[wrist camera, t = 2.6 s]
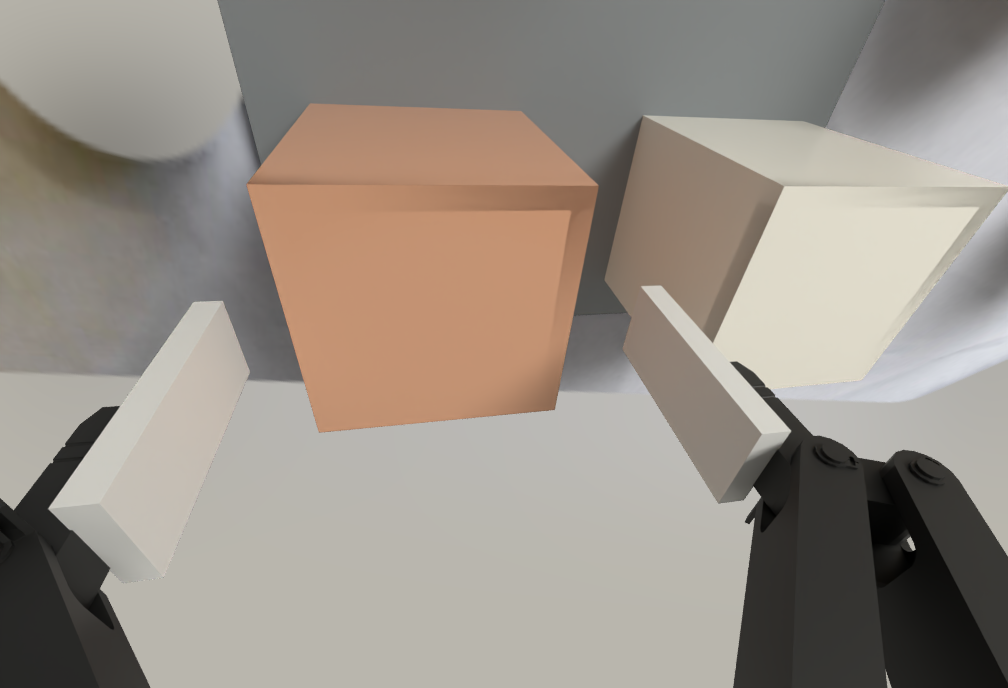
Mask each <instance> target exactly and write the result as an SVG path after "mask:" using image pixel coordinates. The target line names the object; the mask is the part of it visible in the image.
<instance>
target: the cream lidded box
mask: <svg viewBox="0 0 1008 688" xmlns="http://www.w3.org/2000/svg"><path fill="white" fill-rule="evenodd" d="M1007 191H1008V186H1006V185H1003V184H1000V183H997V182H993V181H990V180H987V179H984V178H981V177H978V176H974V175H971V174H968V173H965V172H962V171H959V170H956V169H952V168H949V167H946V166H943V165H940V164H937V163H934V162H930V161H927V160H924V159H921V158H918V157H915V156H911V155H908V154H905V153H902V152H899V151H896V150H893V149H889V148H886V147H883V146H880V145H877V144H874V143H871V142H867V141H864V140H861V139H858V138H855V137H852V136H849V135H845V134H842V133H839V132H836V131H833V130H830V129H826V128H823V127H820V126H817V125H814V124H811V123H808V122H804V121H785V120H757V119H729V118H701V117H673V116H646V115H643V118H642V122H641V126H640V131H639V135H638V139H637V143H636V148H635V152H634V156H633V160H632V165H631V169H630V173H629V177H628V182H627V186H626V190H625V194H624V199H623V203H622V207H621V211H620V216H619V220H618V224H617V228H616V233H615V237H614V241H613V245H612V250H611V254H610V258H609V262H608V266H607V271H606V275H605V279H604V280H605V282H606V283H607V284H608V286H609V287H610V289H611V290H612V291H613V293H614V294H615V296H616V297H617V298H618V300H619V301H620V303H621V304H622V305H623V307H624V308H625V310H626V311H627V312H628V314H629V315H630V316H631V318H632V314H633V311H634V307H635V304H636V301H637V297H638V294H639V290H640V287H641V286H662V287H663V288H664V289H665V290H666V292H667V293H668V294H669V295H670V296H671V297H672V298H673V299H674V300H675V302H676V303H677V304H678V305H679V306H680V307H681V308H682V309H683V311H684V312H685V313H686V314H687V315H688V316H689V317H690V318H691V319H692V321H693V322H694V323H695V324H696V325H697V326H698V327H699V328H700V330H701V331H702V332H703V333H704V334H705V335H706V336H707V337H708V338H709V340H710V341H711V342H712V343H713V344H714V345H715V346H716V347H717V349H718V350H719V351H720V352H721V353H722V354H723V355H724V356H725V357H726V359H727V360H728V361H729V362H734V361H737V362H739V363H740V364H742V365H744V366H745V367H747V368H748V369H750V370H751V371H753V372H754V373H755V374H756V375H757V376H758V377H759V378H760V379H761V381H762V382H763V383H764V384H765V387H768V388H769V389H777V388H787V387H798V386H808V385H818V384H829V383H839V382H849V381H860V380H862V379H863V378H864V377H865V375H866V374H867V373H868V371H869V370H870V369H871V368H872V366H873V365H874V364H875V362H876V361H877V360H878V358H879V357H880V356H881V355H882V353H883V352H884V351H885V349H886V348H887V347H888V346H889V344H890V343H891V342H892V340H893V339H894V338H895V336H896V335H897V334H898V333H899V331H900V330H901V329H902V327H903V326H904V325H905V323H906V322H907V321H908V320H909V318H910V317H911V316H912V314H913V313H914V312H915V311H916V309H917V308H918V307H919V305H920V304H921V303H922V301H923V300H924V299H925V298H926V296H927V295H928V294H929V292H930V291H931V290H932V288H933V287H934V286H935V285H936V283H937V282H938V281H939V279H940V278H941V277H942V276H943V274H944V273H945V272H946V270H947V269H948V268H949V266H950V265H951V264H952V263H953V261H954V260H955V259H956V257H957V256H958V255H959V254H960V252H961V251H962V250H963V248H964V247H965V246H966V244H967V243H968V242H969V241H970V239H971V238H972V237H973V235H974V234H975V233H976V231H977V230H978V229H979V228H980V226H981V225H982V224H983V222H984V221H985V220H986V219H987V217H988V216H989V215H990V213H991V212H992V211H993V209H994V208H995V207H996V206H997V204H998V203H999V202H1000V200H1001V199H1002V198H1003V196H1004V195H1005V194H1006V193H1007Z"/></svg>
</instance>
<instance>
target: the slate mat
mask: <svg viewBox="0 0 1008 688" xmlns="http://www.w3.org/2000/svg"><path fill="white" fill-rule="evenodd" d="M884 2H885V0H218V4H219V8H220V12H221V15H222V19H223V23H224V27H225V30H226V34H227V38H228V42H229V45H230V49H231V53H232V57H233V60H234V64H235V68H236V72H237V76H238V79H239V83H240V87H241V91H242V94H243V98H244V102H245V106H246V110H247V113H248V117H249V121H250V125H251V128H252V132H253V136H254V140H255V144H256V147H257V151H258V155H259V159H260V162H261V165H262V164H263V163H264V161H265V160H266V159H267V158H268V156H269V155H270V154H271V152H272V151H273V150H274V149H275V147H276V146H277V145H278V144H279V142H280V141H281V140H282V138H283V137H284V136H285V135H286V133H287V132H288V131H289V130H290V128H291V127H292V126H293V124H294V123H295V122H296V121H297V119H298V118H299V117H300V116H301V114H302V113H303V112H304V110H305V109H306V108H307V107H308V105H309V104H310V103H312V104H340V105H368V106H395V107H423V108H451V109H479V110H507V111H522V112H523V113H524V114H525V115H526V116H527V117H528V118H529V119H530V120H531V121H532V122H533V123H534V124H535V125H536V126H537V127H538V128H539V129H540V130H541V131H542V132H544V133H545V134H546V135H547V136H548V137H549V138H550V139H551V140H552V141H553V142H554V143H555V144H556V145H557V146H558V147H559V148H560V149H561V150H562V151H563V152H564V153H565V154H566V155H567V156H569V157H570V158H571V159H572V160H573V161H574V162H575V163H576V164H577V165H578V166H579V167H580V168H581V169H582V170H583V171H584V172H585V173H586V174H587V175H588V176H589V177H590V178H591V179H592V180H594V181H595V182H596V183H597V184H598V185H599V187H598V193H597V198H596V203H595V208H594V213H593V218H592V223H591V228H590V233H589V238H588V243H587V248H586V253H585V258H584V264H583V269H582V274H581V279H580V284H579V289H578V294H577V299H576V304H575V309H574V314H573V315H592V314H610V313H628V312H627V311H626V310H625V308H624V307H623V305H622V304H621V303H620V301H619V300H618V298H617V297H616V296H615V294H614V293H613V291H612V290H611V289H610V287H609V286H608V284H607V283H606V282H605V280H604V279H605V275H606V271H607V266H608V262H609V258H610V254H611V250H612V245H613V241H614V237H615V233H616V228H617V224H618V220H619V216H620V211H621V207H622V203H623V199H624V194H625V190H626V186H627V182H628V177H629V173H630V169H631V165H632V160H633V156H634V152H635V148H636V143H637V139H638V135H639V131H640V126H641V122H642V118H643V115H646V116H673V117H701V118H729V119H757V120H785V121H804V122H808V123H811V124H814V125H817V126H820V127H823V128H825V127H826V125H827V123H828V121H829V119H830V116H831V114H832V112H833V110H834V108H835V106H836V104H837V102H838V100H839V97H840V95H841V93H842V91H843V89H844V87H845V85H846V83H847V81H848V78H849V76H850V74H851V72H852V70H853V68H854V66H855V64H856V62H857V59H858V57H859V55H860V53H861V51H862V49H863V47H864V45H865V43H866V40H867V38H868V36H869V34H870V32H871V30H872V28H873V26H874V24H875V21H876V19H877V17H878V15H879V13H880V11H881V9H882V7H883V5H884Z"/></svg>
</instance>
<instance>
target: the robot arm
mask: <svg viewBox="0 0 1008 688" xmlns="http://www.w3.org/2000/svg"><path fill="white" fill-rule="evenodd" d="M623 351H624V352H625V354H626V356H627V357H628V359H629V361H630V362H631V364H632V365H633V367H634V369H635V370H636V372H637V373H638V375H639V377H640V378H641V380H642V381H643V383H644V385H645V386H646V388H647V390H648V391H649V393H650V394H651V396H652V398H653V399H654V401H655V402H656V404H657V406H658V407H659V409H660V410H661V412H662V413H663V415H664V417H665V419H666V420H667V422H668V423H669V425H670V427H671V428H672V430H673V431H674V433H675V435H676V436H677V438H678V439H679V441H680V443H681V444H682V446H683V448H684V449H685V451H686V452H687V454H688V456H689V457H690V459H691V460H692V462H693V464H694V465H695V467H696V468H697V470H698V472H699V473H700V475H701V477H702V478H703V480H704V481H705V483H706V485H707V486H708V488H709V489H710V491H711V493H712V494H713V496H714V497H715V499H716V501H717V502H718V503H726V502H734V501H741V500H744V499H745V498H746V496H747V495H748V493H749V492H750V491H751V489H752V488H753V486H754V487H755V489H756V490H757V492H758V493H759V494H760V496H761V498H760V500H759V501H758V503H757V504H756V505H755V507H754V508H753V509H752V511H751V512H750V514H749V515H748V516H747V518H746V521H745V522H746V523H748V524H750V522H751V521H752V520H753V518H755V521H754V530H753V537H752V545H751V553H750V561H749V568H748V576H747V584H746V592H745V600H744V608H743V615H742V623H741V631H740V639H739V647H738V655H737V662H736V670H735V678H734V686H733V688H887V681H886V672H887V675H888V678H889V681H890V684H891V687H892V688H1008V556H1007V555H1006V553H1005V551H1004V550H1003V548H1002V547H1001V545H1000V544H999V542H998V541H997V539H996V537H995V536H994V534H993V533H992V531H991V530H990V528H989V526H988V525H987V523H986V522H985V520H984V519H983V517H982V516H981V514H980V512H979V511H978V509H977V508H976V506H975V505H974V503H973V501H972V500H971V498H970V497H969V495H968V494H967V492H966V491H965V489H964V488H963V486H962V484H961V483H960V481H959V480H958V479H957V478H956V476H955V475H954V474H953V473H952V472H951V471H950V470H949V469H948V468H946V467H945V466H944V465H942V464H941V463H940V462H938V461H936V460H935V459H932V458H931V457H928V456H927V455H924V454H921V453H918V452H915V451H908V450H902V451H898V452H896V453H895V454H894V455H893V456H892V457H891V458H890V459H889V460H888V461H887V462H886V463H885V462H879V461H874V460H867V459H862V458H857V456H856V455H855V454H854V453H853V452H852V451H850V450H849V449H848V448H847V447H845V446H844V445H843V444H840V443H838V442H836V441H834V440H832V439H830V438H826V437H822V436H813V435H812V434H811V433H810V432H809V431H808V430H807V429H806V428H805V427H804V426H803V425H802V423H801V422H800V421H799V420H798V419H797V418H796V417H795V416H794V415H793V414H792V413H791V412H790V410H789V409H788V408H787V407H786V406H785V405H784V404H783V403H782V402H781V401H780V400H779V399H778V398H775V394H774V393H773V392H772V391H771V390H770V389H769V388H768V387H765V384H764V383H763V382H762V381H761V379H760V378H759V377H758V376H757V375H756V374H755V373H754V372H753V371H751V370H750V369H748V368H747V367H745V366H744V365H742V364H740V363H739V362H737V361H734V362H729V361H728V360H727V359H726V357H725V356H724V355H723V354H722V353H721V352H720V351H719V350H718V349H717V347H716V346H715V345H714V344H713V343H712V342H711V341H710V340H709V338H708V337H707V336H706V335H705V334H704V333H703V332H702V331H701V330H700V328H699V327H698V326H697V325H696V324H695V323H694V322H693V321H692V319H691V318H690V317H689V316H688V315H687V314H686V313H685V312H684V311H683V309H682V308H681V307H680V306H679V305H678V304H677V303H676V302H675V300H674V299H673V298H672V297H671V296H670V295H669V294H668V293H667V292H666V290H665V289H664V288H663V287H662V286H641V287H640V290H639V294H638V297H637V301H636V304H635V307H634V311H633V314H632V318H631V321H630V325H629V328H628V332H627V335H626V338H625V342H624V345H623ZM249 373H250V371H249V368H248V366H247V363H246V360H245V358H244V355H243V352H242V350H241V347H240V345H239V342H238V339H237V337H236V334H235V331H234V329H233V326H232V324H231V321H230V318H229V316H228V313H227V311H226V308H225V305H224V303H223V301H205V302H193V304H192V305H191V306H190V308H189V309H188V311H187V312H186V314H185V315H184V316H183V318H182V319H181V321H180V322H179V324H178V325H177V326H176V328H175V329H174V331H173V332H172V333H171V335H170V336H169V338H168V339H167V341H166V342H165V343H164V345H163V346H162V348H161V349H160V351H159V352H158V353H157V355H156V356H155V358H154V359H153V360H152V362H151V363H150V365H149V366H148V368H147V369H146V370H145V372H144V373H143V375H142V376H141V378H140V379H139V380H138V382H137V383H136V385H135V386H134V388H133V389H132V390H131V392H130V393H129V395H128V396H127V397H126V399H125V400H124V402H123V403H122V405H121V406H115V407H102V408H101V409H100V410H99V411H97V412H96V413H94V414H93V415H92V416H90V417H89V418H88V419H86V420H85V421H84V422H83V423H81V424H80V425H79V426H78V428H77V429H76V430H75V431H74V433H73V434H72V435H71V437H70V438H69V439H68V441H67V442H66V443H65V445H66V446H65V447H62V448H61V450H60V451H59V452H58V454H57V455H56V456H55V458H54V459H53V463H50V464H49V465H48V467H47V468H46V469H45V471H44V472H43V473H42V475H41V476H40V477H39V478H38V480H37V481H36V482H35V483H34V485H33V486H32V488H31V489H30V490H29V491H28V493H27V494H26V495H25V496H24V498H23V499H22V500H21V502H20V503H19V504H18V506H17V507H16V508H15V509H14V510H13V509H11V508H10V507H9V506H8V505H7V504H6V503H5V502H3V500H1V499H0V688H150V686H149V684H148V682H147V679H146V677H145V675H144V673H143V671H142V669H141V667H140V665H139V663H138V661H137V658H136V657H135V654H134V652H133V650H132V648H131V646H130V644H129V642H128V640H127V637H126V636H125V633H124V631H123V629H122V627H121V625H120V623H119V621H118V619H117V617H116V615H115V612H114V610H113V608H112V606H111V604H110V602H109V600H108V598H107V596H106V595H105V594H104V593H103V592H102V591H101V590H100V587H101V585H102V583H103V581H104V579H105V577H106V576H107V573H108V572H109V570H110V571H111V572H112V573H113V574H114V575H115V576H116V577H117V578H118V579H119V580H120V581H121V582H122V583H128V582H135V581H143V580H150V579H158V578H164V576H165V574H166V571H167V569H168V566H169V564H170V562H171V559H172V557H173V555H174V552H175V550H176V547H177V545H178V543H179V540H180V538H181V535H182V533H183V530H184V528H185V526H186V524H187V521H188V519H189V516H190V514H191V511H192V509H193V507H194V504H195V502H196V500H197V497H198V495H199V492H200V490H201V488H202V486H203V483H204V481H205V478H206V476H207V473H208V471H209V469H210V466H211V464H212V462H213V459H214V457H215V455H216V452H217V450H218V447H219V445H220V442H221V440H222V438H223V435H224V433H225V431H226V428H227V426H228V424H229V421H230V419H231V416H232V414H233V412H234V409H235V406H236V404H237V402H238V400H239V397H240V395H241V393H242V390H243V388H244V385H245V383H246V381H247V378H248V376H249ZM910 536H911V538H912V540H913V542H914V545H915V549H916V550H914V551H912V549H911V548H910V546H909V544H908V542H907V539H908V538H909V537H910ZM885 669H886V671H885Z"/></svg>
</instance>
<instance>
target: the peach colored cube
mask: <svg viewBox="0 0 1008 688" xmlns="http://www.w3.org/2000/svg"><path fill="white" fill-rule="evenodd" d="M246 185H247V188H248V192H249V195H250V199H251V202H252V205H253V209H254V212H255V216H256V219H257V223H258V226H259V229H260V233H261V236H262V240H263V243H264V246H265V250H266V253H267V257H268V260H269V263H270V267H271V270H272V274H273V277H274V281H275V284H276V287H277V291H278V294H279V298H280V301H281V304H282V308H283V311H284V315H285V318H286V322H287V325H288V328H289V332H290V335H291V339H292V342H293V345H294V349H295V352H296V356H297V359H298V363H299V366H300V369H301V373H302V376H303V380H304V383H305V386H306V390H307V393H308V396H309V400H310V403H311V407H312V410H313V414H314V417H315V421H316V424H317V427H318V431H319V432H331V431H341V430H351V429H361V428H371V427H382V426H393V425H403V424H413V423H424V422H433V421H445V420H455V419H466V418H475V417H486V416H496V415H506V414H517V413H527V412H537V411H549V410H555V405H556V400H557V396H558V390H559V385H560V380H561V375H562V370H563V365H564V360H565V355H566V350H567V345H568V340H569V335H570V330H571V324H572V319H573V314H574V309H575V304H576V299H577V294H578V289H579V284H580V279H581V274H582V269H583V264H584V258H585V253H586V248H587V243H588V238H589V233H590V228H591V223H592V218H593V213H594V208H595V203H596V198H597V193H598V187H599V185H598V184H597V183H596V182H595V181H594V180H592V179H591V178H590V177H589V176H588V175H587V174H586V173H585V172H584V171H583V170H582V169H581V168H580V167H579V166H578V165H577V164H576V163H575V162H574V161H573V160H572V159H571V158H570V157H569V156H567V155H566V154H565V153H564V152H563V151H562V150H561V149H560V148H559V147H558V146H557V145H556V144H555V143H554V142H553V141H552V140H551V139H550V138H549V137H548V136H547V135H546V134H545V133H544V132H542V131H541V130H540V129H539V128H538V127H537V126H536V125H535V124H534V123H533V122H532V121H531V120H530V119H529V118H528V117H527V116H526V115H525V114H524V113H523V112H522V111H507V110H479V109H451V108H423V107H395V106H368V105H340V104H312V103H310V104H309V105H308V107H307V108H306V109H305V110H304V112H303V113H302V114H301V116H300V117H299V118H298V119H297V121H296V122H295V123H294V124H293V126H292V127H291V128H290V130H289V131H288V132H287V133H286V135H285V136H284V137H283V138H282V140H281V141H280V142H279V144H278V145H277V146H276V147H275V149H274V150H273V151H272V152H271V154H270V155H269V156H268V158H267V159H266V160H265V161H264V163H263V164H262V165H261V166H260V168H259V169H258V170H257V172H256V173H255V174H254V175H253V177H252V178H251V179H250V180H249V182H248V183H247V184H246Z"/></svg>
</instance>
